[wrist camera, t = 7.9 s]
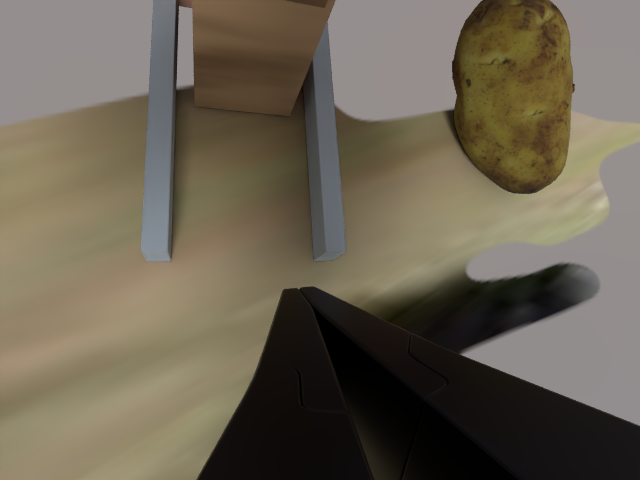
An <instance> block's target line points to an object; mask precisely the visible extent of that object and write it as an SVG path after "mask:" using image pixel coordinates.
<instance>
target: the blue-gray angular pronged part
mask: <svg viewBox="0 0 640 480" xmlns="http://www.w3.org/2000/svg"><path fill="white" fill-rule="evenodd" d="M179 6H183V7H189V8H193V4H192V0H154V1H153V21H152V40H151V60H150V81H149V100H148V120H147V140H146V159H145V179H144V199H143V219H142V239H141V252H142V254H143V255H144V257H145V259H146V260H147V262H153V261H171V243H172V210H173V178H174V145H175V113H176V80H177V46H178V14H179V12H178V11H179ZM303 92H304V109H305V125H306V141H307V158H308V174H309V190H310V206H311V223H312V239H313V255H314V261H333V260H334V259H336V258H337V257H339V256H340V255H342V254H343V253H345V252H346V241H345V229H344V217H343V205H342V192H341V180H340V168H339V156H338V144H337V132H336V120H335V108H334V97H333V84H332V72H331V60H330V49H329V36H328V23H326V26H325V28H324V31H323V33H322V36H321V38H320V41H319V43H318V46H317V49H316V51H315V54H314V56H313V59H312V61H311V64H310V66H309V69H308V71H307V74H306V77H305V79H304V82H303Z"/></svg>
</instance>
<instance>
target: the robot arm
mask: <svg viewBox="0 0 640 480" xmlns="http://www.w3.org/2000/svg"><path fill="white" fill-rule="evenodd" d="M197 480H640V426H638V425H636V424H634V423H631V422H629V421H626V420H624V419H621V418H618V417H616V416H613V415H611V414H609V413H606V412H603V411H601V410H598V409H596V408H593V407H591V406H588V405H586V404H583V403H581V402H578V401H576V400H573V399H570V398H568V397H566V396H563V395H560V394H558V393H555V392H553V391H550V390H548V389H545V388H543V387H540V386H538V385H535V384H533V383H530V382H528V381H525V380H522V379H520V378H518V377H515V376H512V375H510V374H507V373H505V372H502V371H500V370H497V369H495V368H492V367H490V366H487V365H485V364H482V363H479V362H477V361H475V360H472V359H470V358H467V357H465V356H462V355H460V354H457V353H455V352H453V351H450V350H448V349H445V348H443V347H441V346H439V345H436V344H434V343H432V342H430V341H428V340H425V339H423V338H421V337H419V336H417V335H415V334H411V333H410V332H408V331H406V330H403V329H401V328H399V327H397V326H395V325H393V324H391V323H389V322H387V321H385V320H383V319H381V318H379V317H376V316H374V315H372V314H370V313H368V312H366V311H364V310H362V309H360V308H358V307H356V306H354V305H351V304H349V303H347V302H345V301H343V300H341V299H339V298H337V297H335V296H333V295H331V294H329V293H326V292H324V291H322V290H320V289H318V288H316V287H313V286H312V287H302V288H300V289H298V288H291V289H284V290H283V291H282V294H281V297H280V300H279V303H278V306H277V309H276V312H275V315H274V318H273V321H272V324H271V327H270V330H269V334H268V337H267V340H266V343H265V346H264V349H263V352H262V355H261V357H260V360H259V363H258V366H257V368H256V371H255V373H254V376H253V379H252V381H251V383H250V385H249V387H248V389H247V391H246V393H245V395H244V396H243V398H242V400H241V402H240V404H239V405H238V407H237V409H236V411H235V412H234V414H233V416H232V418H231V419H230V421H229V423H228V425H227V427H226V428H225V430H224V432H223V434H222V435H221V437H220V439H219V441H218V442H217V444H216V446H215V448H214V450H213V451H212V453H211V455H210V457H209V458H208V460H207V462H206V464H205V465H204V467H203V469H202V471H201V473H200V474H199V476H198V478H197Z"/></svg>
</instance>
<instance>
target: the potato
mask: <svg viewBox="0 0 640 480" xmlns="http://www.w3.org/2000/svg"><path fill="white" fill-rule="evenodd" d="M452 72H453V77H452V78H453V80H454V86H455V90H456V94H457V99H456V104H455V109H454V122H455V127H456V130H457V133H458V136H459V139H460V141H461V144H462V146H463V148H464V150H465V151H466V153H467V155H468V157H469V158H470V159H471V161H472V162H473V163H474V164H475V166H476V167H477V168H478V169H479V170H480V171H481V172H482V173H483V174H484V175H486V176H487V177H488V178H489V179H490V180H492V181H493V182H494V183H495V184H497V185H498V186H499V187H501V188H502V189H504V190H506V191H509V192H512V193H519V194H531V193H536V192H538V191H540V190H542V189H543V188H545V187H546V186H548V185H550V184H551V183H552V182H553V181H554V180H556V179H557V177H558V176H559V175H560V174H561V172H562V170H563V168H564V166H565V163H566V159H567V153H568V146H569V137H570V122H571V100H572V93H573V92H574V90H575V89H574V86H575V84H573V70H572V64H571V57H570V34H569V30H568V27H567V23H566V21H565V19H564V17H563V15H562V13H561V12H560V10H559V9H558V8H557V7H556V6H555V5H554V4H553V3H552V2H551V1H550V0H483V1H481V2H480V3H479V4H478V6H477V7H476V8H475V9H474V11H473V12H472V13H471V15H470V16H469V17H468V18H467V19H466V21H465V23H464V26H463V28H462V30H461V33H460V36H459V39H458V42H457V46H456V50H455V55H454V60H453V61H452Z"/></svg>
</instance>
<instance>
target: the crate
mask: <svg viewBox="0 0 640 480" xmlns="http://www.w3.org/2000/svg"><path fill="white" fill-rule="evenodd" d="M334 3H335V0H192V4H193V51H194V52H193V53H194V104H195V106H198V107H207V108H216V109H226V110H235V111H244V112H254V113H263V114H272V115H282V116H290V115H291V112H292V110H293V107H294V105H295V102H296V99H297V97H298V94H299V92H300V89H301V87H302V84H303V82H304V79H305V77H306V74H307V71H308V69H309V66H310V64H311V61H312V59H313V56H314V54H315V51H316V49H317V46H318V43H319V41H320V38H321V36H322V33H323V31H324V28H325V26H326V23H327V21H328V18H329V15H330V13H331V10H332V8H333V5H334Z"/></svg>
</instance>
